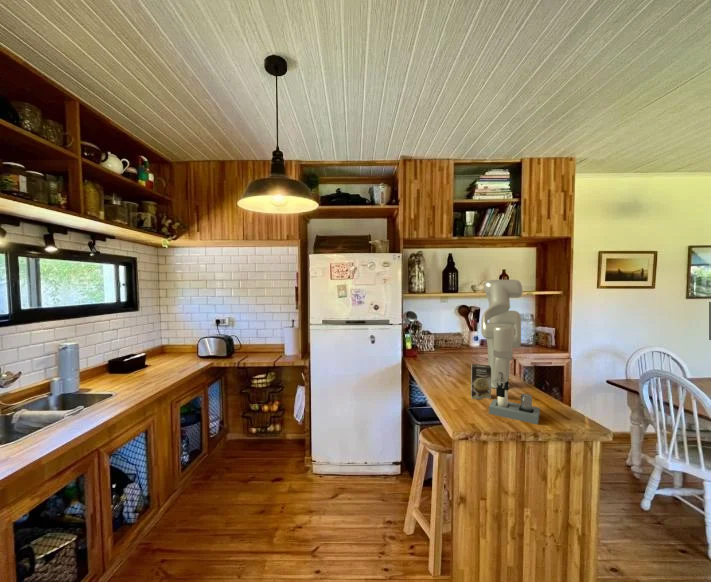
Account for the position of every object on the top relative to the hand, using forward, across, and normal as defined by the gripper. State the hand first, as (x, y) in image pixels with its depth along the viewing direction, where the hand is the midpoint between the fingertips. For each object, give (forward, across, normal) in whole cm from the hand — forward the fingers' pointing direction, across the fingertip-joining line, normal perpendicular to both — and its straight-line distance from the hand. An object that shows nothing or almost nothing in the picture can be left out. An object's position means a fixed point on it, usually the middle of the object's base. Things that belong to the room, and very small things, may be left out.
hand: (502, 393), depth 132 cm
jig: (+9, +1, +5) cm, 10 cm away
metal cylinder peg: (+8, +1, +9) cm, 12 cm away
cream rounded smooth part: (+8, +1, 0) cm, 8 cm away
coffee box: (+10, -14, -12) cm, 21 cm away
